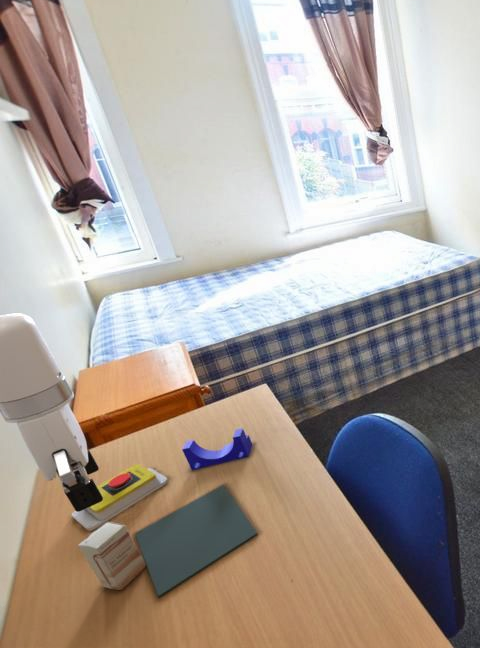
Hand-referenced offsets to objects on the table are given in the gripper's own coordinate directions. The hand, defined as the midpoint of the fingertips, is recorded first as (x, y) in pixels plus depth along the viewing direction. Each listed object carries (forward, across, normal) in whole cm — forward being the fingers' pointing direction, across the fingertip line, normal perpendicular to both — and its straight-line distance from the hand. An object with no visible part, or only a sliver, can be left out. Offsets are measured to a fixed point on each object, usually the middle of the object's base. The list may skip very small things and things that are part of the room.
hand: (88, 489), depth 74 cm
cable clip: (+20, -25, +19) cm, 37 cm away
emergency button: (+21, -28, 0) cm, 35 cm away
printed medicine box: (+21, -3, -2) cm, 21 cm away
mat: (+20, -3, +9) cm, 23 cm away
